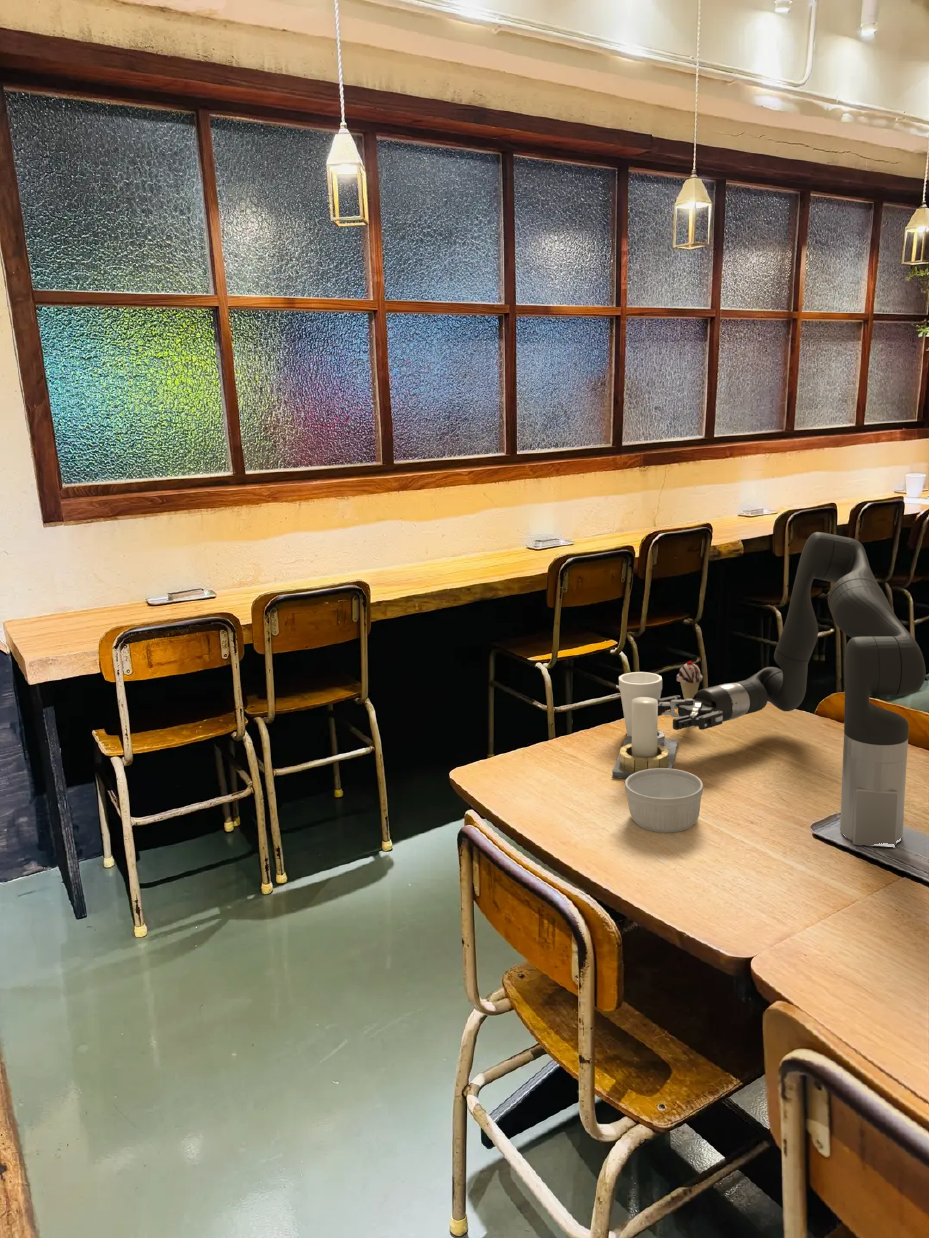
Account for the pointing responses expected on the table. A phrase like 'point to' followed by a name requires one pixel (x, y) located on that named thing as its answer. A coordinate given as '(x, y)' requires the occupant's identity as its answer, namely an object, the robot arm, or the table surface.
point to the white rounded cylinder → (644, 727)
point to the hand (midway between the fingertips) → (659, 718)
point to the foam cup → (637, 691)
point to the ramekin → (664, 799)
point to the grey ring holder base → (631, 764)
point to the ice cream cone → (689, 679)
